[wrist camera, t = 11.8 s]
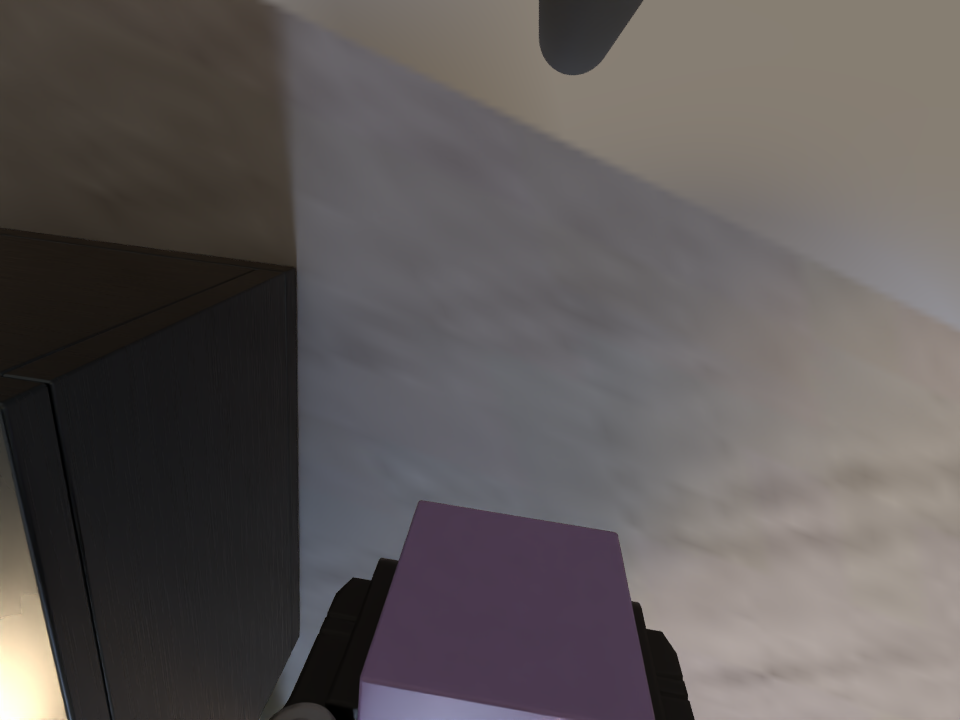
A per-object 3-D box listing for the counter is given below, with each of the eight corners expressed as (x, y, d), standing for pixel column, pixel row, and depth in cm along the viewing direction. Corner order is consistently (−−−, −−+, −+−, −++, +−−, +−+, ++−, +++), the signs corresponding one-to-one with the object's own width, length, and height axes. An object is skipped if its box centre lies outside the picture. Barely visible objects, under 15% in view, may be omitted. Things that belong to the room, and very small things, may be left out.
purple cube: (418, 498, 12) (359, 678, 8) (618, 531, 12) (659, 733, 8) (404, 642, 14) (348, 853, 10) (579, 674, 14) (597, 901, 10)
